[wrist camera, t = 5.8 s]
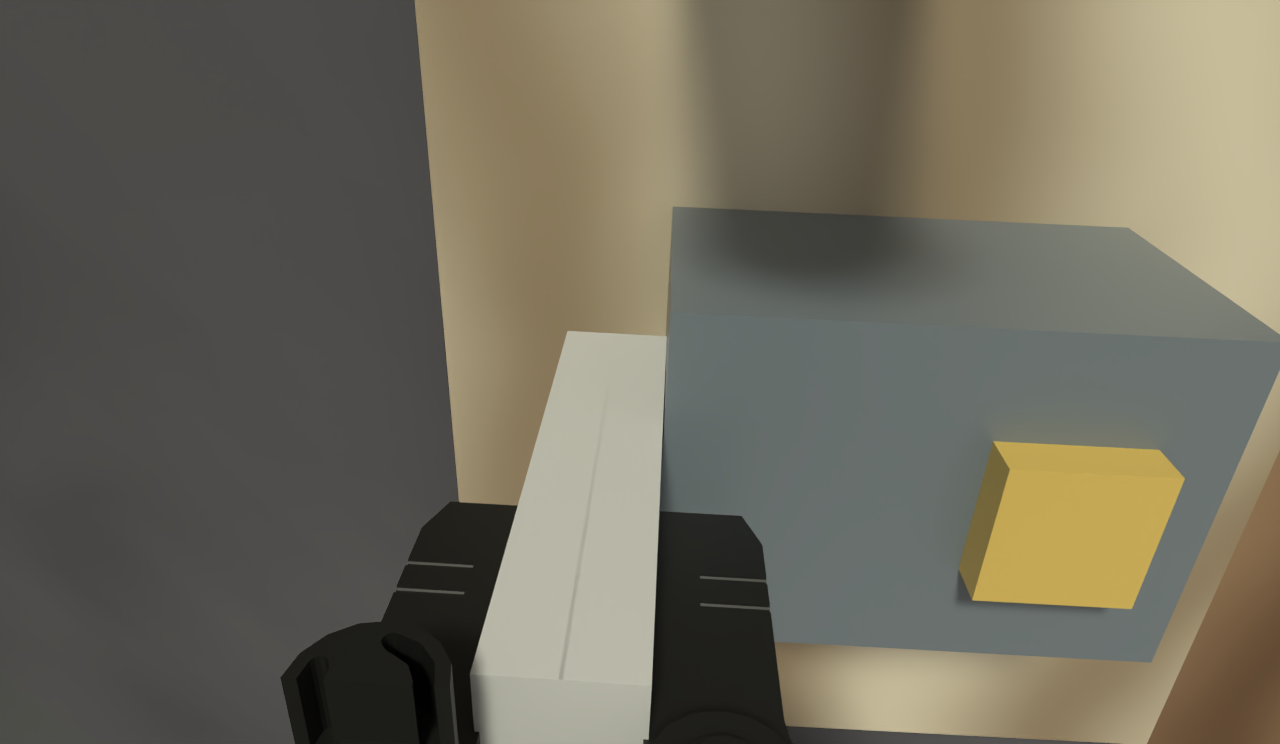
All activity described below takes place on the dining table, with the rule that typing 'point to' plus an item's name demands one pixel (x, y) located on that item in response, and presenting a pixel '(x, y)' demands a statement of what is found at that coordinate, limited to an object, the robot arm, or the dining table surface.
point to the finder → (956, 423)
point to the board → (873, 186)
